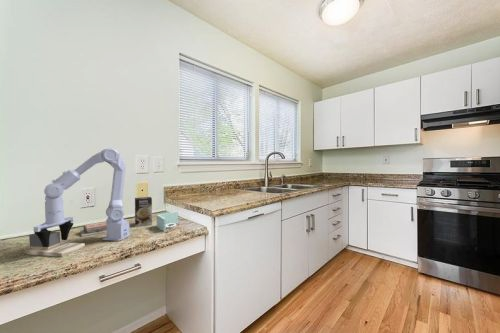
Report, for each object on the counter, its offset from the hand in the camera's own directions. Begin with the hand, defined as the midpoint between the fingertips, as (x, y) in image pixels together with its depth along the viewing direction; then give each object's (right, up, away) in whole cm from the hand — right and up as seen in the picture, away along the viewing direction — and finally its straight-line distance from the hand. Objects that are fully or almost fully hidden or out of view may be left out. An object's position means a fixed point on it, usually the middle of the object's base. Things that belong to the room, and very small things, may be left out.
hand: (55, 243), depth 92 cm
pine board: (0, -3, 0) cm, 3 cm away
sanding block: (-5, -2, +1) cm, 5 cm away
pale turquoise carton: (+38, -3, +32) cm, 49 cm away
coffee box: (+20, -2, +37) cm, 42 cm away
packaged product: (+2, -3, +26) cm, 26 cm away
